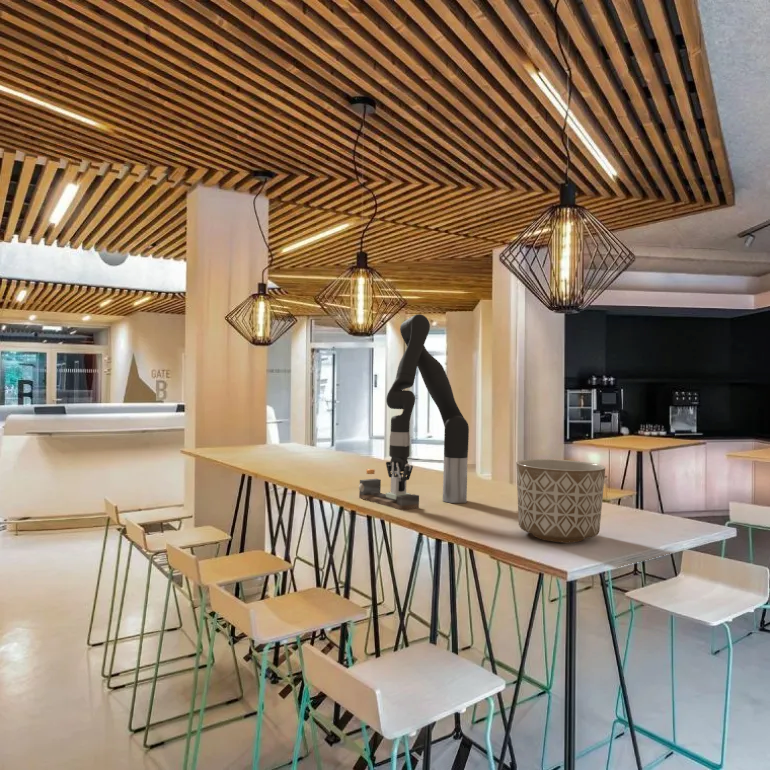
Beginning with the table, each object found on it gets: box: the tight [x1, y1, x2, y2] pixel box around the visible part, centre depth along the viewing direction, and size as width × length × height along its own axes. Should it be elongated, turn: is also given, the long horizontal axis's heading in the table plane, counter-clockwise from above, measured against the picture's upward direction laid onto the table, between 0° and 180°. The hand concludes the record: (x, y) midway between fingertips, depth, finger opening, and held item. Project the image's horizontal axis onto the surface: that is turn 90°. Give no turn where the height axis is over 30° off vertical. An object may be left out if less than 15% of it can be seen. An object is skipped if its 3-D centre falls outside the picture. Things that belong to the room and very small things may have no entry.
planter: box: [516, 458, 606, 543], centre depth 190 cm, size 26×26×22 cm
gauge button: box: [365, 468, 376, 475], centre depth 246 cm, size 3×3×2 cm
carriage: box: [385, 475, 412, 500], centre depth 232 cm, size 6×7×8 cm
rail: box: [358, 478, 420, 511], centre depth 236 cm, size 27×8×7 cm, turn 37°
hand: (398, 490), depth 232 cm, fingers closed on carriage, 3 cm apart
